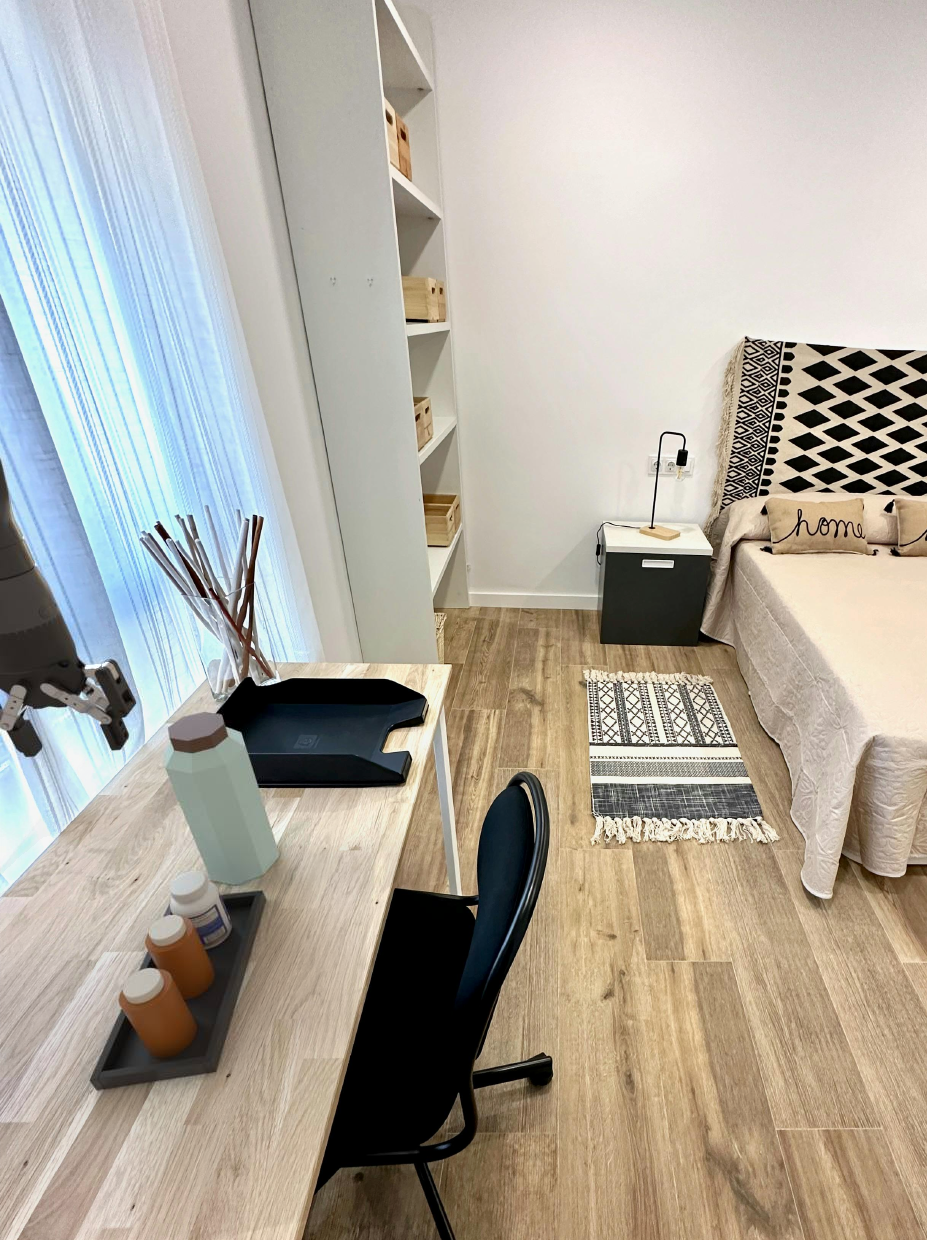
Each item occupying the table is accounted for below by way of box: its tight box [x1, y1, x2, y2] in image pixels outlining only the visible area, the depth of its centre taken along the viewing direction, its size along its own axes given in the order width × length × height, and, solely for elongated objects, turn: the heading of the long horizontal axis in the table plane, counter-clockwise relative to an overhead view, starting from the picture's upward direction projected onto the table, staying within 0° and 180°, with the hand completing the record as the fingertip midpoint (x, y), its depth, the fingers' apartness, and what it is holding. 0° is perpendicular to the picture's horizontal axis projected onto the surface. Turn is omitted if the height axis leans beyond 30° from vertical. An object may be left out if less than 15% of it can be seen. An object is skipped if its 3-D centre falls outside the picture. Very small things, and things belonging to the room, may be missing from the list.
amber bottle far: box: [118, 968, 197, 1059], centre depth 68 cm, size 5×5×10 cm
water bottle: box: [162, 711, 281, 886], centre depth 87 cm, size 10×10×25 cm
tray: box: [89, 889, 267, 1091], centre depth 76 cm, size 12×24×3 cm, turn 10°
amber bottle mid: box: [144, 915, 215, 1000], centre depth 74 cm, size 5×5×10 cm
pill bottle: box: [168, 870, 232, 950], centre depth 80 cm, size 5×5×10 cm
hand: (77, 749), depth 70 cm, fingers open, 8 cm apart
